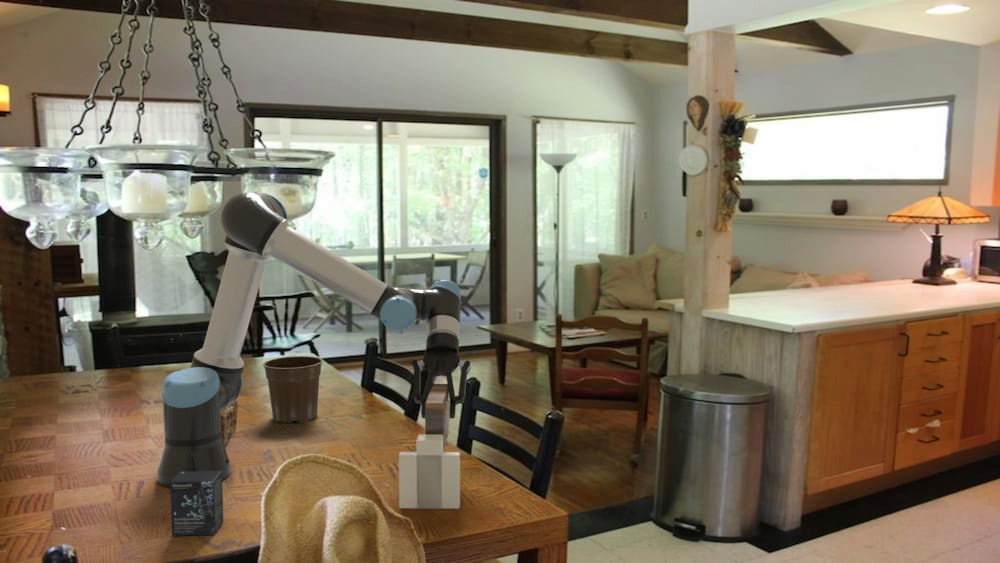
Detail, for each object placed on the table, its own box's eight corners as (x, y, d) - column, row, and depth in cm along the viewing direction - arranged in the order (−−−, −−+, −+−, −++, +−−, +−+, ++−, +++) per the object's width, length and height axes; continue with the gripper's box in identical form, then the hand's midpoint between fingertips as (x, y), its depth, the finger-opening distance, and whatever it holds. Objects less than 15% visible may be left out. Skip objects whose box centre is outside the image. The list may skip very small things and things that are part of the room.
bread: (226, 449, 191) (224, 409, 190) (180, 451, 189) (179, 411, 188) (239, 427, 209) (238, 391, 208) (198, 428, 208) (197, 392, 207)
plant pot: (252, 422, 213) (250, 364, 212) (288, 407, 228) (286, 353, 227) (301, 428, 208) (299, 369, 206) (335, 413, 222) (334, 358, 221)
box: (171, 537, 141) (169, 481, 140) (182, 524, 147) (180, 470, 146) (215, 536, 142) (213, 480, 141) (224, 523, 147) (222, 469, 146)
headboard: (459, 508, 155) (459, 440, 153) (399, 508, 155) (398, 440, 153) (461, 493, 163) (461, 428, 161) (404, 493, 163) (404, 428, 161)
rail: (443, 455, 158) (443, 403, 157) (425, 455, 158) (425, 403, 157) (449, 431, 174) (449, 383, 173) (433, 431, 174) (432, 383, 173)
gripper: (479, 348, 181) (476, 439, 167) (408, 348, 182) (400, 439, 167) (478, 330, 176) (475, 422, 161) (405, 330, 176) (396, 422, 161)
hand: (437, 430), depth 164 cm, fingers closed on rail, 3 cm apart
